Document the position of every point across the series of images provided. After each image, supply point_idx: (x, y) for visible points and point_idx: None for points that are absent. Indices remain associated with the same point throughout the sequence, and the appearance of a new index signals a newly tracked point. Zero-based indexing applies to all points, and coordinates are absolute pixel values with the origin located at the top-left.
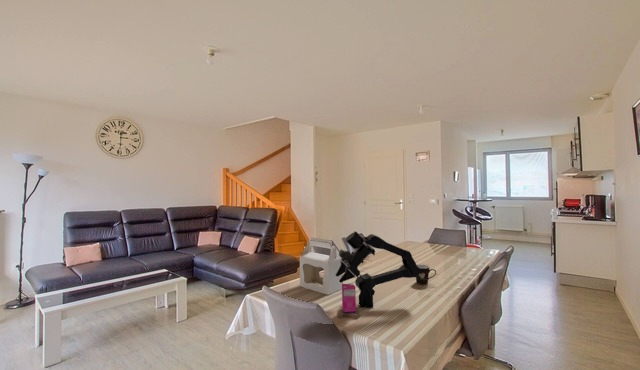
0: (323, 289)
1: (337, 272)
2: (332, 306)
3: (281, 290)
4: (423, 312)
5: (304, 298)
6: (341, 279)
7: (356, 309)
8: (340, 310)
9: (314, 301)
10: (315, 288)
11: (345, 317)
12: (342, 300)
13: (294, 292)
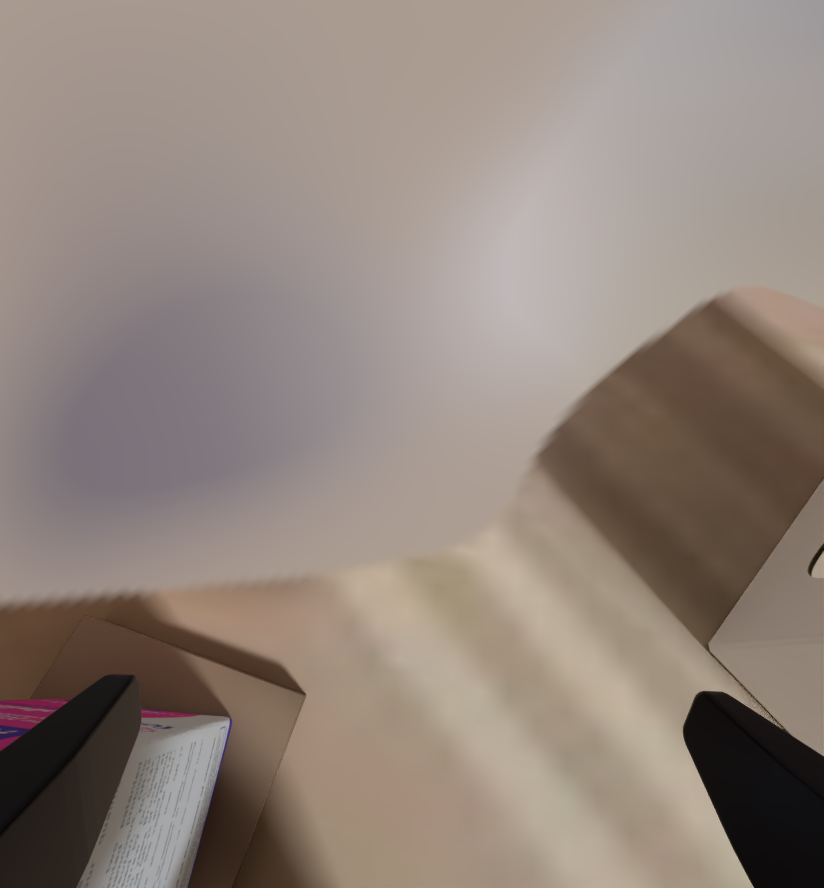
0: (774, 591)
1: (793, 772)
2: (396, 623)
3: (744, 294)
4: None
5: (603, 409)
6: (7, 770)
7: None
8: (167, 672)
9: (536, 473)
10: (810, 522)
11: None
12: None
13: (721, 363)
